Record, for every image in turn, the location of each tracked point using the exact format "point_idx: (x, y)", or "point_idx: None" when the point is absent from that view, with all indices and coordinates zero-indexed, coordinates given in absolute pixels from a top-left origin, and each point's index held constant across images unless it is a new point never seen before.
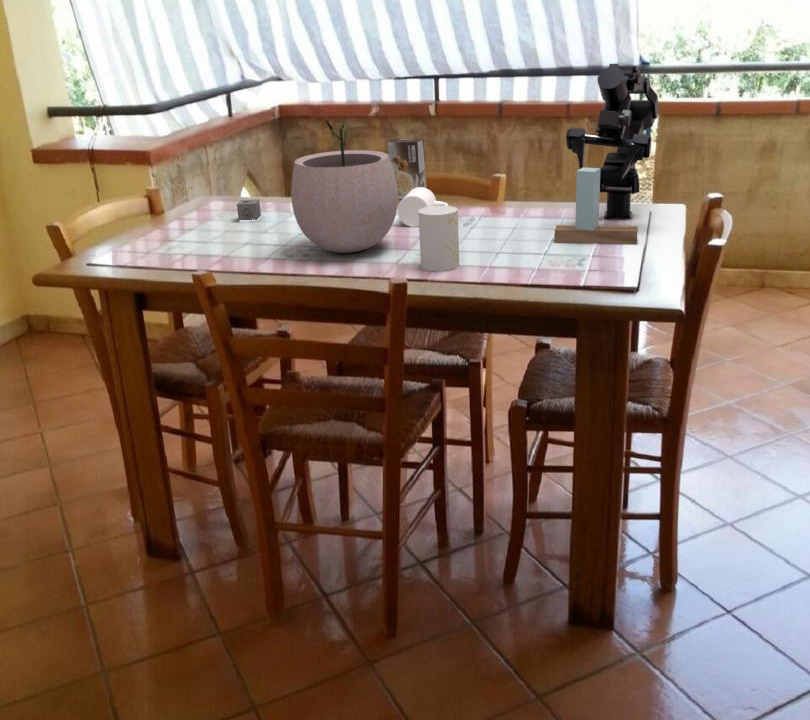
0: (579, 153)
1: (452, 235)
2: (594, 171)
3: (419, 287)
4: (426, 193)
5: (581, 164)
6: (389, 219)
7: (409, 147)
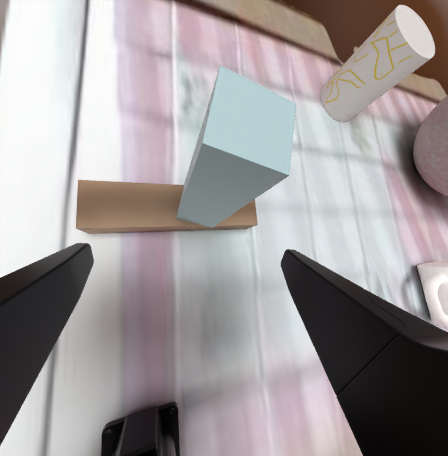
0: (388, 308)
1: (359, 48)
2: (221, 71)
3: (327, 42)
4: None
5: (312, 265)
6: (442, 124)
7: None
